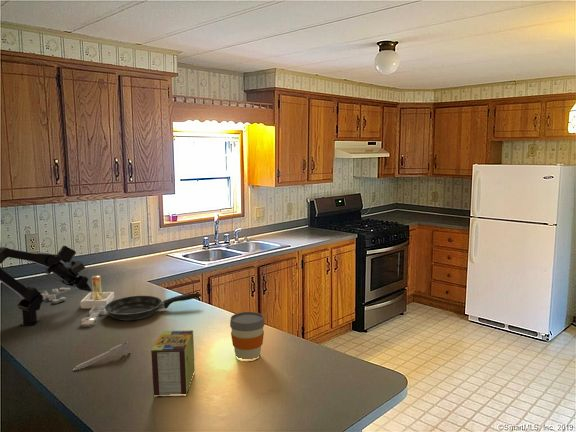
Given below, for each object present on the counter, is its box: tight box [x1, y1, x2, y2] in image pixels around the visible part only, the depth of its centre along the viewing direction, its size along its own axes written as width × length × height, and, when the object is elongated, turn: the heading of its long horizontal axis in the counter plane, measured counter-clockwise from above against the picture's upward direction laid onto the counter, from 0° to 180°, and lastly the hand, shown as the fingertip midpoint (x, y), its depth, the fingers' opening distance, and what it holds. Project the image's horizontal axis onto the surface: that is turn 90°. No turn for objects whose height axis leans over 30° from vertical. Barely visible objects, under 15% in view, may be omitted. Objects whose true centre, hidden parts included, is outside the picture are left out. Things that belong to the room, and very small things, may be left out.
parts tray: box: [80, 291, 115, 309], centre depth 231 cm, size 14×12×4 cm
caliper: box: [72, 338, 132, 372], centre depth 167 cm, size 20×1×6 cm, turn 131°
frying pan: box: [105, 292, 202, 321], centre depth 218 cm, size 44×25×7 cm, turn 107°
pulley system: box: [39, 287, 71, 305], centre depth 241 cm, size 27×5×15 cm
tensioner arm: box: [80, 306, 108, 328], centre depth 210 cm, size 21×7×2 cm, turn 6°
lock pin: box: [91, 274, 102, 301], centre depth 230 cm, size 4×4×13 cm
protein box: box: [150, 330, 196, 396], centre depth 149 cm, size 10×15×16 cm
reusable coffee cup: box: [229, 311, 266, 359], centre depth 170 cm, size 13×13×15 cm
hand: (86, 289), depth 225 cm, fingers open, 9 cm apart
